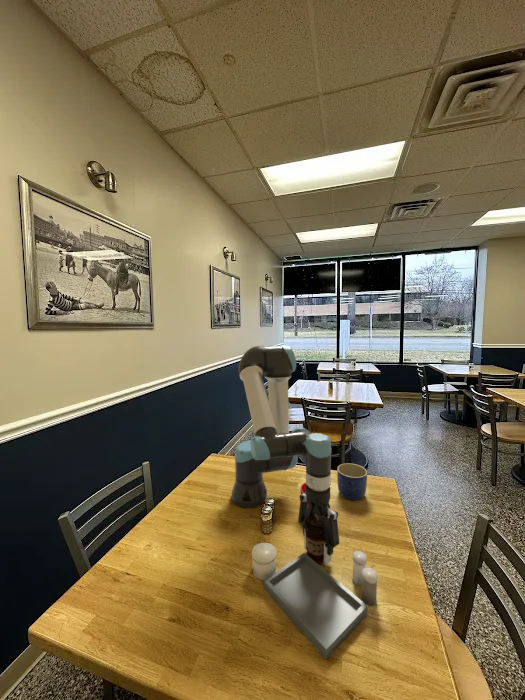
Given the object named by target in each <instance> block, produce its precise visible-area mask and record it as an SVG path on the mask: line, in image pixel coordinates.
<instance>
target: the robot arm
mask: <svg viewBox="0 0 525 700" xmlns="http://www.w3.org/2000/svg"><path fill="white" fill-rule="evenodd" d="M295 355H296V354H295V353H294V351H293V349H292V347H290V346H288V345H281V344H280V345H262V346H261V345H256V346H253V347H251V348H249V349H247V350H246V351H245V352H244V353H243V355H242V357H241V359H240V361H239V363H238V375H239V379H240V380H241V381H242V382H243V385H244V391H245V395H246V396H245V397H246V400H247V404H248V408H249V413H250V418H251V423H252V427H253V431H254V436H252V437H251V439H250V440H246V441H243V442H241V443H239V444H238V445H237V446H236V448H235V453H234V462H235V463H234V465H235V472H234V474H235V481H234V485H233V488H232V491H231V501H232V503H233V504H234V505H236V506H237V507H240V508H247V509H248V508H249V509H252V508H257V507H259V506H261V505H263V504H264V503H265V502H266V501H265V499H266V498H267V499H268V490H267V487H266V485H265V482H264V477H263V476H264V474H265V473H266V474H267V473H273V472H281V471H282V472H283V471H287V470H291V469H293V468H295V466H297V463H298V459H299V456H302V457H303V459H304V460H305V483H306V493H304V494H302V495H301V494H300V495H299V502H300V504H299V511H298V519H297V522H298V524H301V525H302V528H303V529H302V532H303V533H302V535H303V541H304V545H303V547H304V549H305V550H307V548H306V533H305V520H306V518H307V517H308V516H311V515H313V514H316V515H317V516H318V519H319V521H320V522H321V525H322V526H323V530H324V532H325V535H324V537H325V541H326V543H324V564H323V565H325V566H327V565H329V564H330V563H331V562H332V555H333V554H334V548H336V547H337V546H338V545H339V544H340V536H339V534H340V533H339V525H338V524H339V523H338V516H339V511H337V510H335V511H333V510H332V509H331V505H330V500H331V482H332V481H331V478H332V476H331V472H332V471H331V469H332V466H331V465H332V445H331V443H332V442H331V439H330V437H329V436H328V435H326V434H323V433H318V432H316V433H315V432H314V433H312V432H311V431H310V430H308V429H306V428H305V427H300V426H298V427H296V428H294V429H292V430H291V432H290V424H289V423H290V420H289V419H290V416H289V414H290V413H289V411H290V410H289V380H290V379H291V378H292V373H293V372H295V371H296V370H297V359H296V356H295ZM263 375H264V379H266V380H267V382H268V383H267V384H268V385H267V386H268V390H267V391H268V393H267V391H266V387H265V383H264V380H263ZM267 499H266V500H267ZM264 501H265V502H264ZM308 504H309V507H308V509H307V506H308ZM324 515H325V516H324Z"/></svg>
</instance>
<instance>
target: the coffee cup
mask: <svg viewBox="0 0 525 700" xmlns="http://www.w3.org/2000/svg"><path fill="white" fill-rule="evenodd" d="M324 516H325V515H324ZM305 533H306V548H307V549H306V555H308V556H309V557H310V558H311V559H312V560H314V561H315V562H316V563H317V564H318V565H320V566H321V565H324V543H326V541H325V537H324V535H325V532H324V530H323V526H322V525H321V522H320V521H319V519H318V516H317V515H316V514H313V515H311V516H308V517H307V518H306V520H305Z"/></svg>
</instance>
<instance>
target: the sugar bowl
mask: <svg viewBox="0 0 525 700" xmlns="http://www.w3.org/2000/svg"><path fill="white" fill-rule="evenodd" d="M251 558H252V574H253V576H254V577H255V578H257V579H258V580H262V581H264V580H266V579H267V578H268V577H270V576H271V575H273V574H274V573H276V572H277V568H276V567H277V549H276V547H275V546H274V545H273V544H271V543H269V542H259V543H257V544H255V545H254V546H253V547H252V550H251Z"/></svg>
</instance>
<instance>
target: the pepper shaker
mask: <svg viewBox="0 0 525 700" xmlns="http://www.w3.org/2000/svg"><path fill="white" fill-rule="evenodd" d="M377 584H378V573H377V571H376V570H375V569H374V568H372V567H369V566H366V568H364V569H363V570H362V586H361V591H362V593H361V601H363V602H364V603H365V604H366V605H367V606H368V607H374V606H376V605H377V592H378V591H377V589H378V588H377V587H378V585H377Z"/></svg>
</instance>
